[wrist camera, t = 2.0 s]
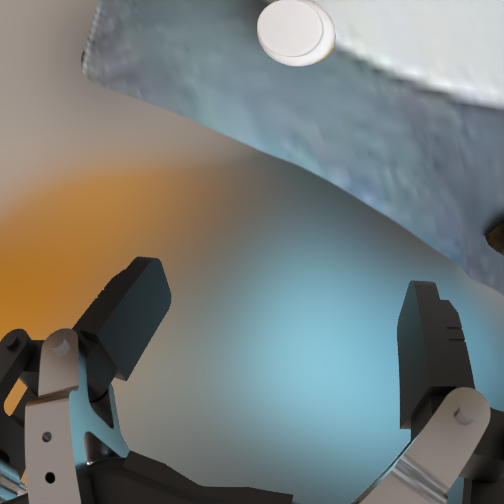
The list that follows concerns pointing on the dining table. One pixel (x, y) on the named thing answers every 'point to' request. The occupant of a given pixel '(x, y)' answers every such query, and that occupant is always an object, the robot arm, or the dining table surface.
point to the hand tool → (497, 238)
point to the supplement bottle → (296, 32)
